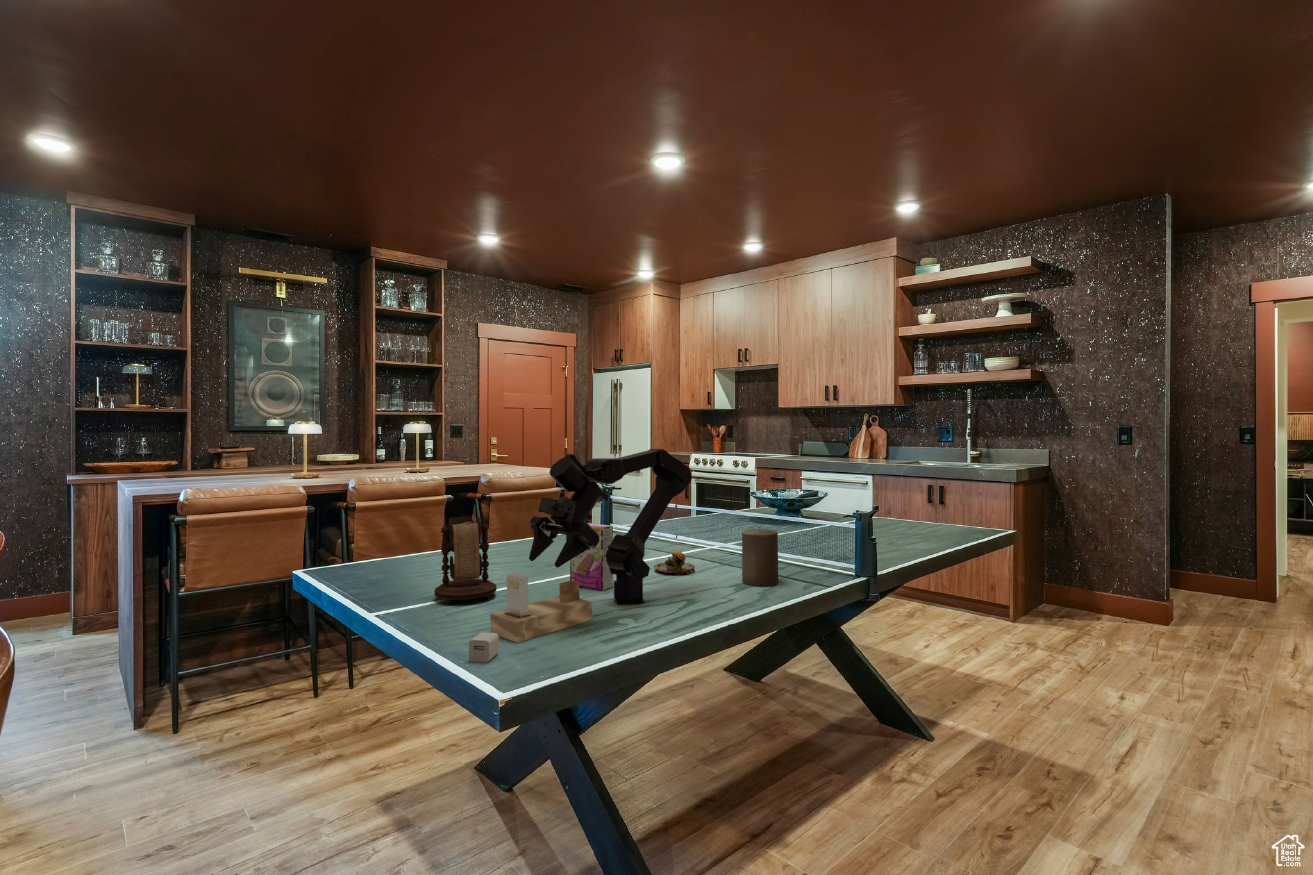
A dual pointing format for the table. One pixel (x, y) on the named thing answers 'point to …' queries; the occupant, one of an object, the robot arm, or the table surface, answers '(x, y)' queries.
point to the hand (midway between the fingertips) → (542, 563)
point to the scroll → (465, 563)
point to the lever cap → (517, 595)
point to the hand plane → (544, 615)
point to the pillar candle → (760, 557)
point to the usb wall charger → (483, 647)
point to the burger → (676, 565)
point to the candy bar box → (594, 562)
